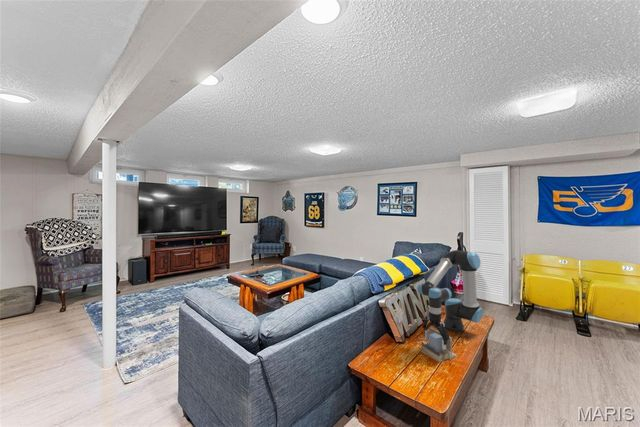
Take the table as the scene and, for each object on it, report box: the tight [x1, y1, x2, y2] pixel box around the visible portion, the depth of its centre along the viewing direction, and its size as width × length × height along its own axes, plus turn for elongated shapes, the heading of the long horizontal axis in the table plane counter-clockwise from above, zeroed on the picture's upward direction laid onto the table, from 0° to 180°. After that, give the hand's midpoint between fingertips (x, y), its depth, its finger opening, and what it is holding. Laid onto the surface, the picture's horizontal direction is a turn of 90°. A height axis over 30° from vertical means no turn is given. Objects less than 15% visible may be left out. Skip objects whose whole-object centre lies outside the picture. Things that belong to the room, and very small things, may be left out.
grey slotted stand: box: [421, 326, 458, 363], centre depth 171 cm, size 16×16×14 cm
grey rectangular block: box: [428, 333, 442, 351], centre depth 170 cm, size 6×6×9 cm
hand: (435, 344), depth 170 cm, fingers open, 13 cm apart
